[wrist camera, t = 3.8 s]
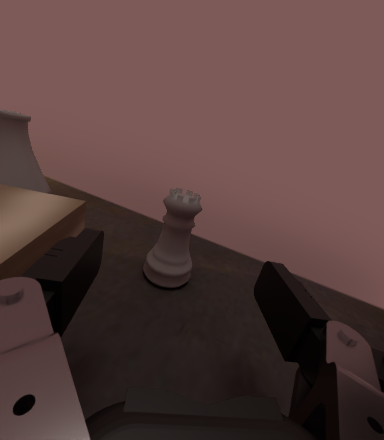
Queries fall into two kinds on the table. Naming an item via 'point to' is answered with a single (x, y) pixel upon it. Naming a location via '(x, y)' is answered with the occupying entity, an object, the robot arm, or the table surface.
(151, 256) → the rook chess piece
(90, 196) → the table surface
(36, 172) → the flask
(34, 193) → the maple plinth
